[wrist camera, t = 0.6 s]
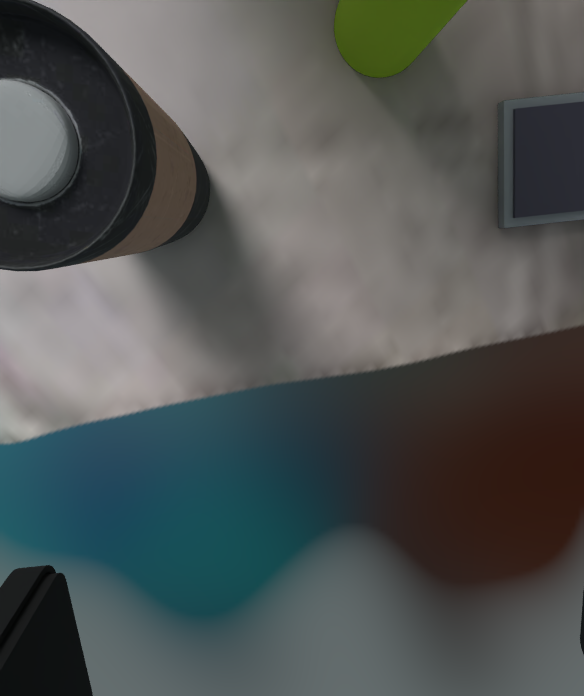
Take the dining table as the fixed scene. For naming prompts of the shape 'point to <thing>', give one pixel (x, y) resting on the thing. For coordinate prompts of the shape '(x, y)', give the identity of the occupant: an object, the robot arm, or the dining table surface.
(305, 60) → the dining table surface
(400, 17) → the soap dispenser
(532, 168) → the ink pad
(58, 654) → the robot arm
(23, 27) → the travel mug
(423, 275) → the dining table surface
